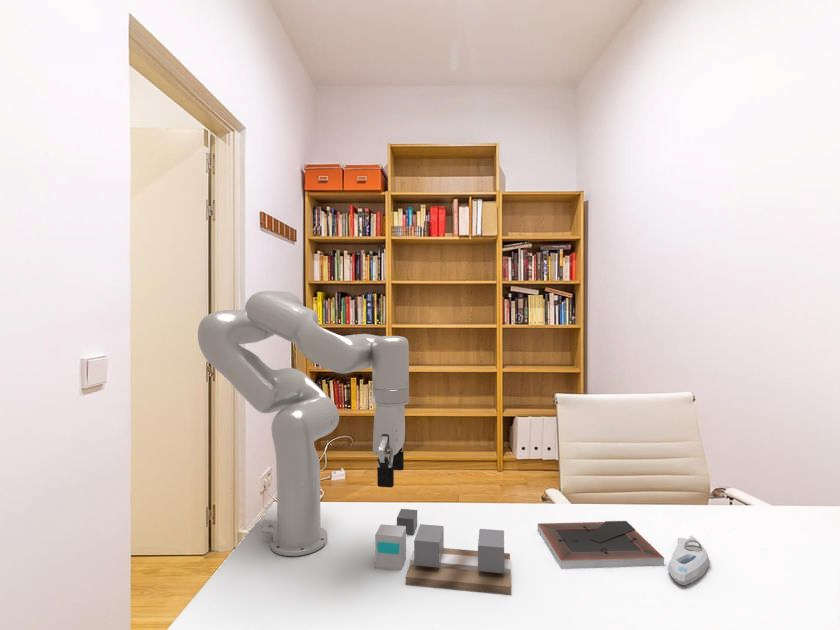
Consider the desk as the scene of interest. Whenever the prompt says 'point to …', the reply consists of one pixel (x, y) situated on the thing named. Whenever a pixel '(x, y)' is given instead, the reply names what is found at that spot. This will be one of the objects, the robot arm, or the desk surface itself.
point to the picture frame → (598, 545)
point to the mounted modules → (432, 547)
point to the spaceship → (688, 561)
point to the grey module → (390, 547)
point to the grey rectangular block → (408, 520)
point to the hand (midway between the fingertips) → (391, 477)
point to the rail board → (460, 573)
